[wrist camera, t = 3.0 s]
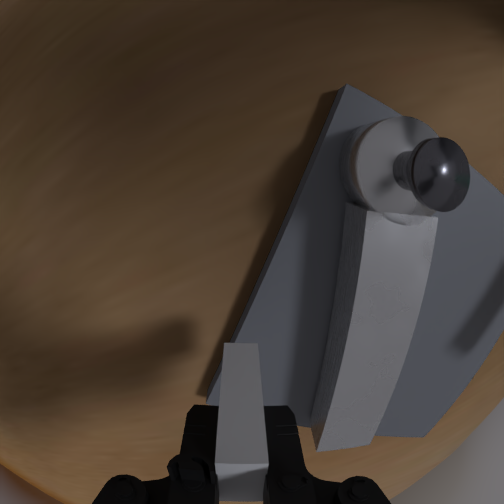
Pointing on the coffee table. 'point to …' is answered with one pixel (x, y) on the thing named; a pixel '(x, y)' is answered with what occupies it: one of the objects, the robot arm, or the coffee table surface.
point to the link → (381, 269)
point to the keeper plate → (325, 278)
